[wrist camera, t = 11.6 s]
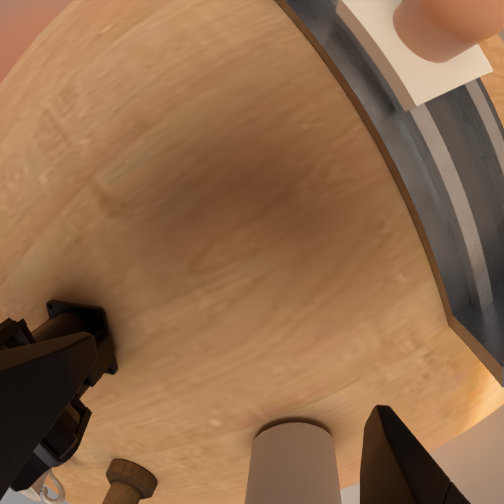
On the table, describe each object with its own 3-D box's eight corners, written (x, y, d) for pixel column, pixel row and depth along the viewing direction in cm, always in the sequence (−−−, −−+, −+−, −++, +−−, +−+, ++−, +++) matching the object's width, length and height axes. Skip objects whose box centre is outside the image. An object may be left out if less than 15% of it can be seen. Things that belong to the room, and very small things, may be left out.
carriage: (479, 76, 12) (579, 42, 3) (404, 111, 14) (515, 69, 5) (418, -13, 11) (481, -87, 2) (335, 11, 12) (372, -97, 3)
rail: (529, 274, 18) (594, 315, 9) (451, 336, 20) (506, 403, 11) (368, -49, 13) (396, -117, 4) (259, -16, 15) (246, -100, 6)
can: (311, 404, 23) (320, 529, 11) (344, 446, 24) (358, 548, 12) (237, 431, 24) (216, 542, 13) (277, 468, 26) (272, 564, 14)
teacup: (86, 478, 32) (63, 520, 22) (16, 432, 32) (-12, 466, 22) (83, 446, 29) (50, 497, 19) (2, 390, 28) (-35, 427, 19)
